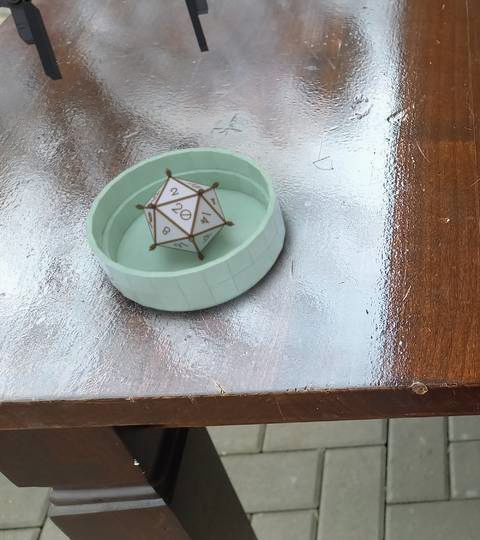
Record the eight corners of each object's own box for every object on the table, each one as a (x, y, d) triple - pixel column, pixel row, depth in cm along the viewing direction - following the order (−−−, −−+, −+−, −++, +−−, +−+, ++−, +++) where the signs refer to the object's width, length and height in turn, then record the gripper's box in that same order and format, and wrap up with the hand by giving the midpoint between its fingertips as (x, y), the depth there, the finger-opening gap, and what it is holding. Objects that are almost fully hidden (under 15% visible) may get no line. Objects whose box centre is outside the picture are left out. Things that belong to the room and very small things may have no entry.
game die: (225, 259, 77) (263, 212, 71) (157, 289, 70) (193, 240, 64) (177, 194, 77) (211, 142, 71) (106, 218, 70) (136, 162, 64)
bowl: (86, 317, 68) (59, 279, 63) (135, 189, 80) (115, 149, 75) (274, 312, 69) (260, 273, 64) (295, 185, 80) (285, 145, 76)
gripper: (200, -162, 70) (262, 46, 73) (-79, -132, 64) (1, 97, 67) (192, -207, 63) (261, 26, 66) (-122, -177, 57) (-31, 81, 59)
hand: (131, 62), depth 66 cm, fingers open, 13 cm apart
